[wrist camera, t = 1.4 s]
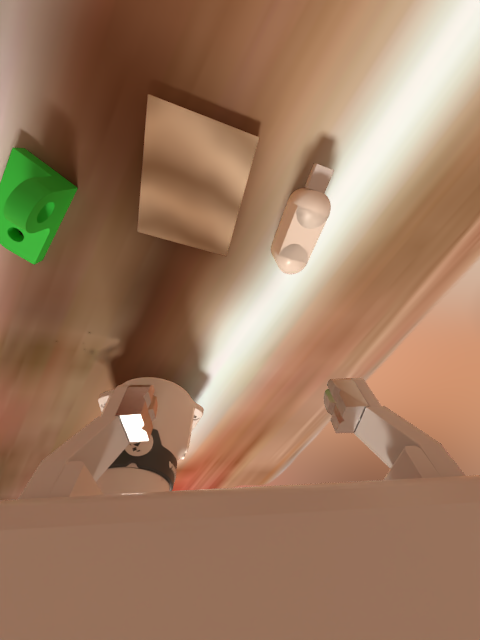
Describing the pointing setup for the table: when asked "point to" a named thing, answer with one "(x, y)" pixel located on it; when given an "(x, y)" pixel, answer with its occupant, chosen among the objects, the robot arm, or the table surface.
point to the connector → (302, 222)
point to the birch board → (192, 177)
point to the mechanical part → (31, 205)
